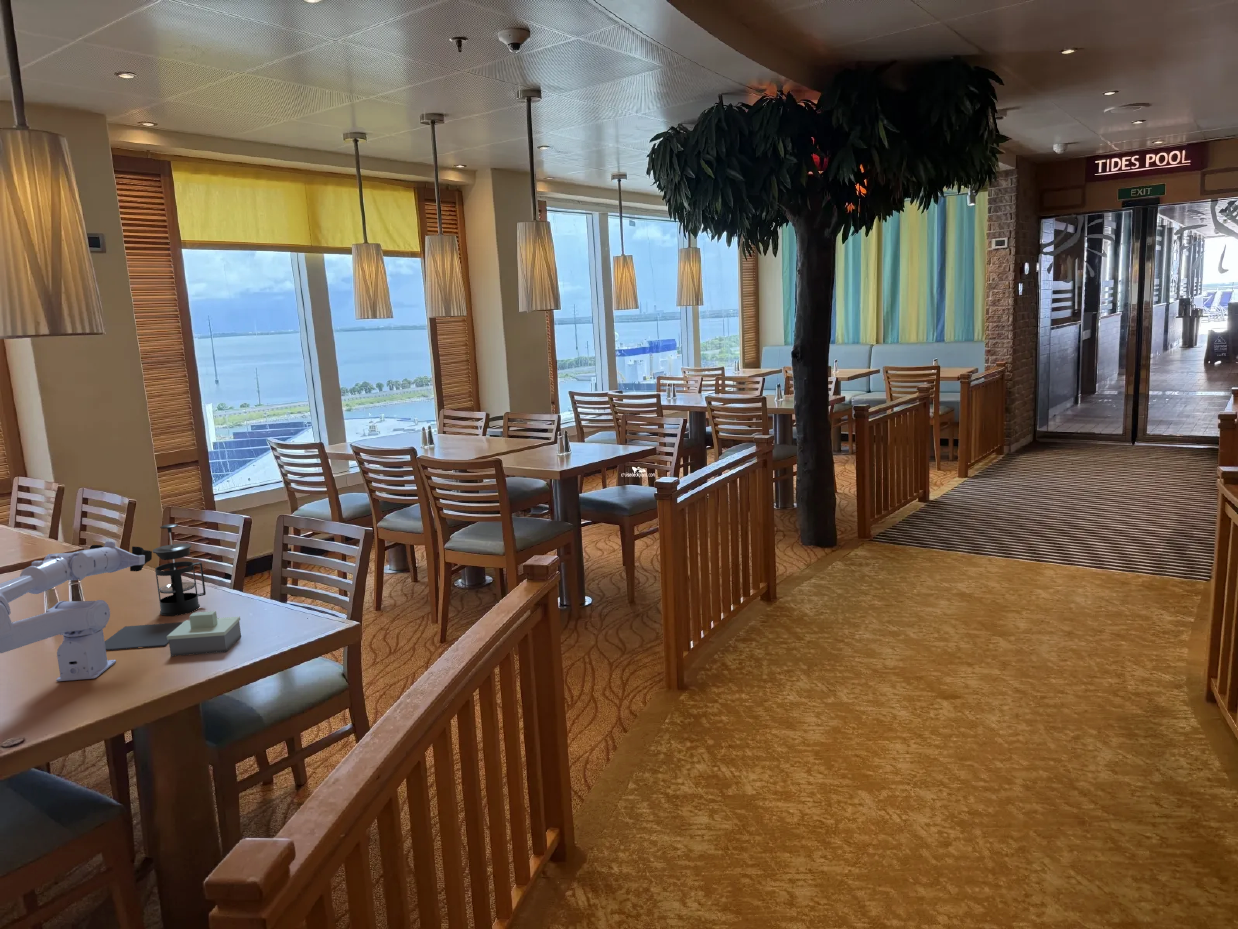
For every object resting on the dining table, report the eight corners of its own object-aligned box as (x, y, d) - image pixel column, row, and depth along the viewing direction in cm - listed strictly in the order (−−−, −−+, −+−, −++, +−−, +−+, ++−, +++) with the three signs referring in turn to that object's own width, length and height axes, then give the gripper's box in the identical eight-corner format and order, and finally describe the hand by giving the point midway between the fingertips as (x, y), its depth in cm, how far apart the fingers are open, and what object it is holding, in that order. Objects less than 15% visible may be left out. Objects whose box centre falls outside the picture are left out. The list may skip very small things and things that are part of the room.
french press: (159, 619, 218) (147, 531, 214) (155, 610, 225) (143, 525, 222) (209, 609, 224) (198, 523, 220) (204, 600, 232) (193, 518, 228)
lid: (225, 638, 192) (222, 619, 191) (167, 643, 191) (164, 623, 190) (240, 623, 202) (238, 604, 201) (186, 627, 201) (183, 608, 200)
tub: (226, 652, 192) (224, 635, 192) (170, 656, 191) (168, 639, 191) (241, 636, 202) (239, 620, 202) (188, 640, 201) (186, 624, 200)
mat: (165, 646, 198) (165, 644, 198) (92, 651, 196) (92, 650, 196) (192, 623, 214) (192, 621, 213) (125, 628, 212) (125, 626, 212)
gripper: (127, 544, 188) (164, 539, 201) (64, 542, 189) (105, 536, 202) (126, 576, 188) (163, 569, 201) (63, 574, 189) (104, 566, 202)
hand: (134, 554), depth 202 cm, fingers open, 7 cm apart
